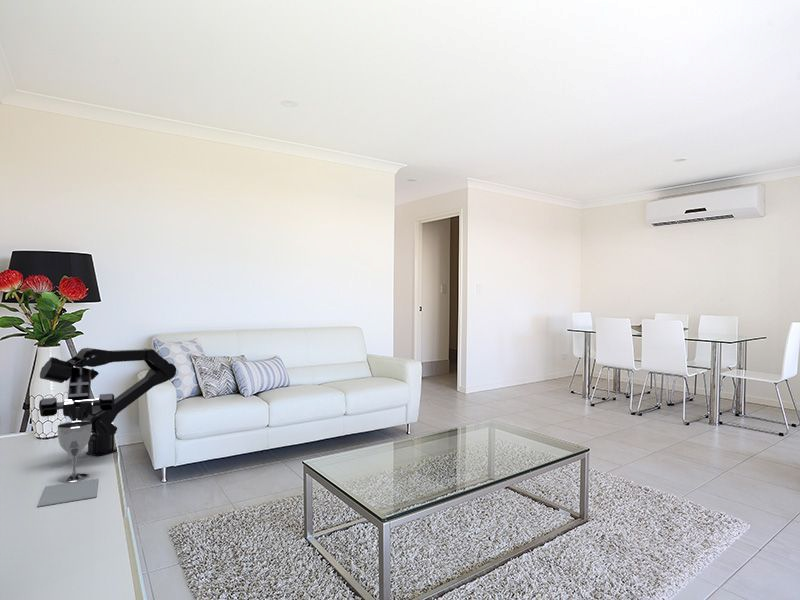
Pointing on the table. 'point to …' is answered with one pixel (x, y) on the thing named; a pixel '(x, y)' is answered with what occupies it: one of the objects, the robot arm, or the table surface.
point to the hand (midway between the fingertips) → (76, 428)
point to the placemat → (68, 492)
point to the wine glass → (74, 444)
